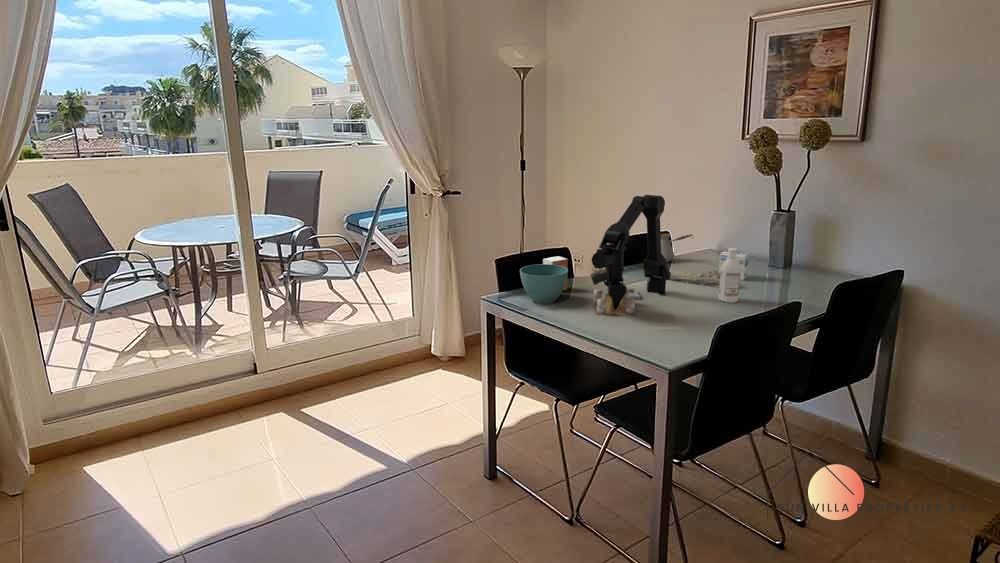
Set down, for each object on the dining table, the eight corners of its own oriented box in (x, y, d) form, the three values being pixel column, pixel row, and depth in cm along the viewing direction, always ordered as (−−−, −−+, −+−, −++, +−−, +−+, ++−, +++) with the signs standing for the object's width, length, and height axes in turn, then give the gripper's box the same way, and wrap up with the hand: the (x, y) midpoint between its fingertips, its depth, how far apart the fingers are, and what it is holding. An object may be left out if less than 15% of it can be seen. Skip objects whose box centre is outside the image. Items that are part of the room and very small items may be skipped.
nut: (621, 305, 228) (621, 292, 227) (623, 310, 223) (623, 296, 222) (603, 305, 229) (604, 292, 227) (605, 310, 223) (605, 296, 222)
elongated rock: (659, 276, 277) (650, 282, 269) (659, 265, 275) (650, 270, 268) (740, 284, 256) (733, 290, 249) (740, 271, 255) (733, 278, 247)
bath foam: (742, 301, 234) (746, 249, 229) (728, 304, 231) (732, 251, 226) (728, 296, 240) (732, 246, 235) (714, 299, 237) (718, 248, 232)
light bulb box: (747, 277, 267) (749, 253, 264) (743, 281, 262) (746, 256, 259) (721, 274, 273) (723, 250, 270) (717, 278, 267) (719, 253, 264)
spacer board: (629, 303, 234) (629, 288, 232) (636, 317, 218) (637, 301, 217) (591, 303, 234) (592, 288, 233) (596, 317, 219) (596, 301, 217)
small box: (551, 293, 248) (552, 261, 245) (542, 289, 253) (542, 258, 250) (567, 289, 253) (568, 258, 249) (557, 286, 258) (558, 255, 254)
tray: (635, 293, 246) (635, 288, 246) (640, 301, 236) (640, 296, 235) (607, 293, 247) (607, 288, 246) (610, 301, 236) (611, 296, 236)
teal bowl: (533, 310, 227) (533, 277, 224) (512, 297, 243) (512, 267, 240) (576, 303, 234) (576, 272, 231) (553, 291, 250) (553, 262, 247)
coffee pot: (644, 260, 299) (646, 230, 295) (658, 257, 306) (660, 227, 302) (683, 268, 284) (686, 236, 280) (697, 264, 291) (699, 232, 287)
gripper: (589, 257, 231) (588, 297, 235) (595, 270, 213) (593, 313, 217) (619, 257, 230) (618, 297, 235) (627, 270, 212) (625, 313, 217)
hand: (613, 305), depth 226 cm, fingers open, 9 cm apart
